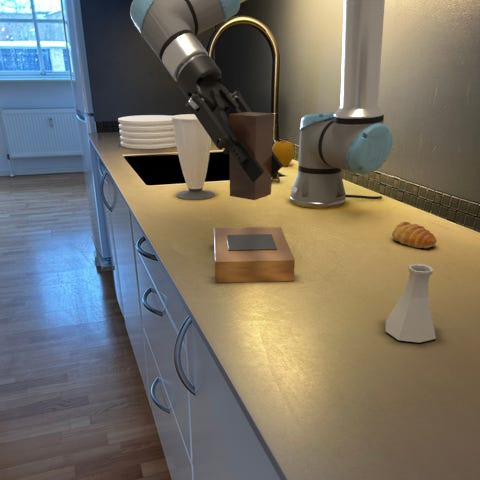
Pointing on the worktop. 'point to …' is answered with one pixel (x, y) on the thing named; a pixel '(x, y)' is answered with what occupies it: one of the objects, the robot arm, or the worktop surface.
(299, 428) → the worktop surface
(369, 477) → the worktop surface
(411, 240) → the pastry
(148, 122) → the plate stack
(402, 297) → the flask
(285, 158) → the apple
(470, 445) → the worktop surface
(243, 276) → the wooden slab
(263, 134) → the box
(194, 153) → the cup
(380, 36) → the robot arm
